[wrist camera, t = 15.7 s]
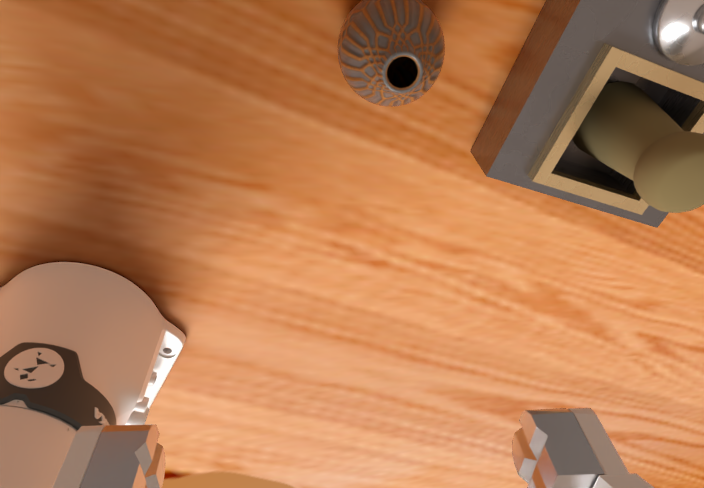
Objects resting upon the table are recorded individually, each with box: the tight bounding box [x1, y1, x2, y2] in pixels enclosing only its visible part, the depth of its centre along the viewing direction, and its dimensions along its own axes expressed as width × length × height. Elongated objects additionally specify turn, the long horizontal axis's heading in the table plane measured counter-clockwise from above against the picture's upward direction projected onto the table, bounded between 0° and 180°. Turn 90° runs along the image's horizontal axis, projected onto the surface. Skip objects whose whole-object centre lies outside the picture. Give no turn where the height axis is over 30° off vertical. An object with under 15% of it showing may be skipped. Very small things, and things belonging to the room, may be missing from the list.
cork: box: [572, 81, 704, 213], centre depth 36 cm, size 6×6×11 cm
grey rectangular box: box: [471, 0, 704, 227], centre depth 37 cm, size 18×16×6 cm
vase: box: [338, 0, 445, 106], centre depth 33 cm, size 7×7×9 cm
